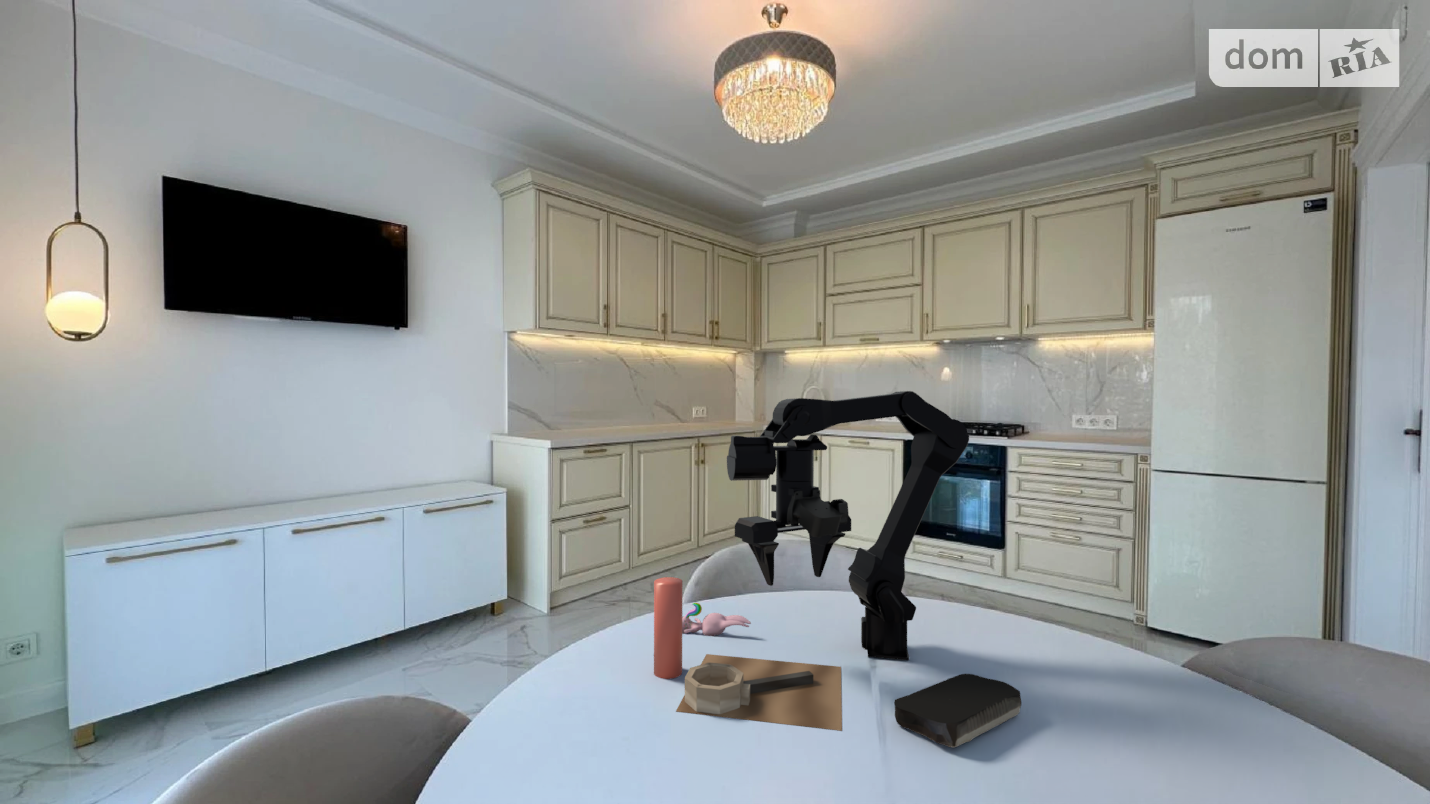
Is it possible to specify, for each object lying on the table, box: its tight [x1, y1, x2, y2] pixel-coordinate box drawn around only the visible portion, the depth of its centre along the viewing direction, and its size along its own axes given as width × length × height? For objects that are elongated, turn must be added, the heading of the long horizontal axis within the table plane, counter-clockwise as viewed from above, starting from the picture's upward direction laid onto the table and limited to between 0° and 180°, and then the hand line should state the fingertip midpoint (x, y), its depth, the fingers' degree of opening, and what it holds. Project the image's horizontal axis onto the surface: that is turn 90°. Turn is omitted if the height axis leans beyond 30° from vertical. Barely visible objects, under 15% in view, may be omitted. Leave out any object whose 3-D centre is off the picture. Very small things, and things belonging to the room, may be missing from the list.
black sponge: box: [893, 673, 1022, 749], centre depth 72 cm, size 16×8×4 cm, turn 123°
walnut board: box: [675, 653, 843, 732], centre depth 78 cm, size 20×17×4 cm
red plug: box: [653, 576, 683, 680], centre depth 82 cm, size 4×4×14 cm
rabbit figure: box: [682, 602, 752, 637], centre depth 98 cm, size 6×6×15 cm
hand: (794, 580), depth 89 cm, fingers open, 9 cm apart
